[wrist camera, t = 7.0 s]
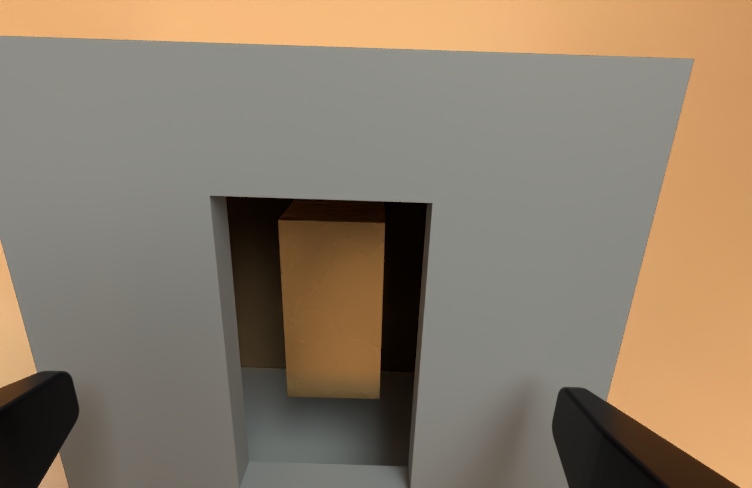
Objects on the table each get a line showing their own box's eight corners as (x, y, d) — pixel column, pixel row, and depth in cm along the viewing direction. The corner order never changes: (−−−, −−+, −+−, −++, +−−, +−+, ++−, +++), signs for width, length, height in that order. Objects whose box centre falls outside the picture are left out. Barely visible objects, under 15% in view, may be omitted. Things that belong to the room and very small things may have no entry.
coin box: (493, 391, 17) (562, 573, 11) (199, 382, 17) (88, 558, 11) (539, 76, 13) (694, 58, 7) (159, 64, 13) (-56, 34, 7)
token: (379, 311, 16) (379, 398, 12) (314, 309, 16) (287, 396, 12) (383, 181, 15) (384, 223, 10) (311, 179, 15) (278, 220, 10)
